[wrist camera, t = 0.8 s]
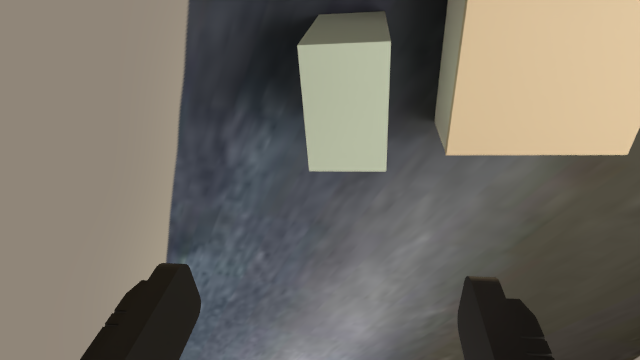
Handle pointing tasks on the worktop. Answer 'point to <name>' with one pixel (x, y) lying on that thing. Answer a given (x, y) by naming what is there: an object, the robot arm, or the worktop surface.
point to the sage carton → (346, 91)
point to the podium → (539, 77)
